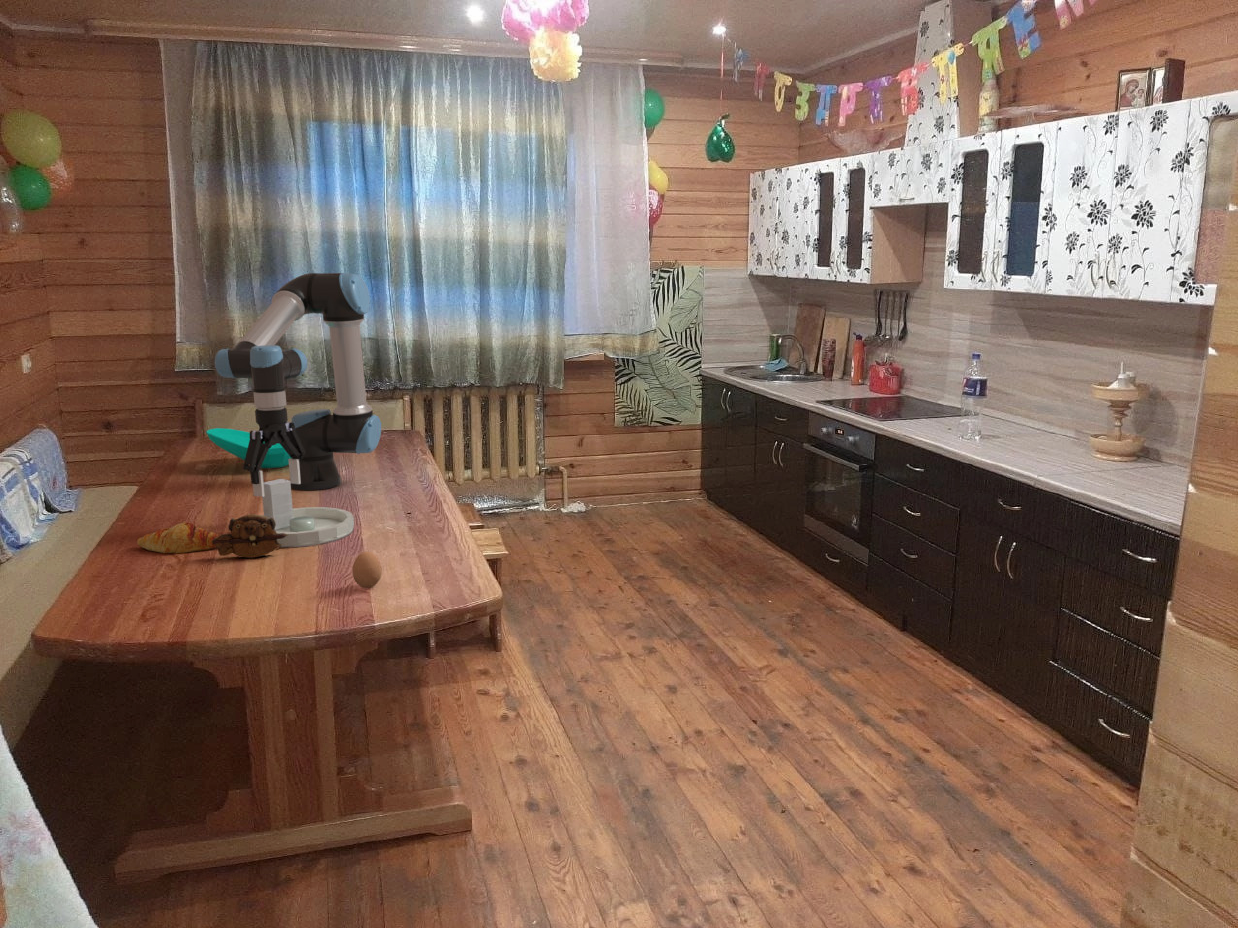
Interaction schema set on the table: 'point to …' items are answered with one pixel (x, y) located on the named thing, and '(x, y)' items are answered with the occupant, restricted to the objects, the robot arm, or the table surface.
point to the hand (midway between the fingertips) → (277, 489)
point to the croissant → (178, 539)
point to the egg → (366, 570)
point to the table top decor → (239, 442)
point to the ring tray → (316, 526)
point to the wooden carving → (249, 537)
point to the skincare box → (278, 502)
